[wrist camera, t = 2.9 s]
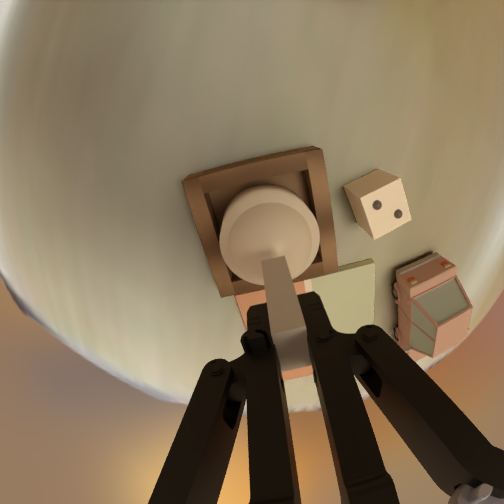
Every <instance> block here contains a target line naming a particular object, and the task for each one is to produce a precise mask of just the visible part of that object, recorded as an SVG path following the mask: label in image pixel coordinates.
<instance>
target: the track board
mask: <svg viewBox="0 0 504 504" xmlns="http://www.w3.org/2000/svg"><path fill="white" fill-rule="evenodd" d="M293 284H294V287H295V291H296V294H297V295H299V294H303V293H307V292H311V291H314V292H315V293H317V294H318V295H319V296H320V298H321V301H322V303H323V305H324V308H325V310H326V313H327V315H328V318H329V320H330V323H331V325H332V327H333V328H334V329H335V330H336V331H338V332H340V333H347V334H350V333H356V331H357V330H358V329H359V328H360V327H362V326H365V325H373V315H374V292H375V262H374V261H373V260H372V259H368V260H364V261H360V262H356V263H352V264H348V265H344V266H340V267H338V271H337V272H333V273H329V274H325V275H320V276H316V277H312V278H308V279H304V280H299V281H295V282H293ZM235 297H236V300H237V303H238V306H239V309H240V312H241V315H242V318H243V321H244V323H245V326H246V329H247V311H248V309H249V307H250V306H252V305H257V304H262V303H266V302H267V301H266V293H265V288H264V289H260V290H255V291H250V292H246V293H241V294H236V295H235ZM312 374H313V369H312V365H310V366H306V367H302V368H297V369H293V370H288V371H283V372H282V377H283V381H284V380H289V379H294V378H299V377H303V376H308V375H312Z"/></svg>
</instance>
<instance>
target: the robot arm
mask: <svg viewBox="0 0 504 504" xmlns="http://www.w3.org/2000/svg"><path fill="white" fill-rule="evenodd" d="M261 264H262V272H263V279H264V286H265V293H266V301H267V302H266V303H262V304H257V305H252V306H250V307H249V309H248V311H247V331H246V332H245V333H244V334H243V335H242V336H241V340H240V341H241V344H242V346H243V349H244V352H245V353H244V354H243V355H242V356H240V357H239V358H237V359H235V360H233V361H230V362H228V361H227V360H225V359H214V360H212V361H210V362H208V363H207V364H206V365H205V367H204V368H203V370H202V372H201V375H200V377H199V380H198V382H197V385H196V387H195V390H194V392H193V394H192V397H191V399H190V402H189V404H188V407H187V409H186V412H185V414H184V417H183V419H182V421H181V424H180V426H179V429H178V431H177V434H176V436H175V439H174V441H173V443H172V446H171V449H170V451H169V453H168V456H167V458H166V461H165V463H164V466H163V468H162V471H161V473H160V475H159V478H158V480H157V483H156V485H155V488H154V490H153V493H152V495H151V498H150V500H149V503H148V504H217V501H218V498H219V495H220V491H221V488H222V484H223V481H224V478H225V475H226V471H227V468H228V464H229V460H230V457H231V453H232V450H233V446H234V443H235V439H236V436H237V432H238V428H239V425H240V421H241V417H242V413H243V410H244V406H245V402H246V399H247V425H248V450H249V474H250V502H249V504H301V498H300V490H299V483H298V476H297V469H296V461H295V454H294V448H293V441H292V434H291V427H290V420H289V414H288V407H287V400H286V394H285V387H284V381H283V377H282V372H283V371H288V370H293V369H297V368H302V367H306V366H310V365H312V369H313V376H314V383H316V387H317V392H318V396H319V400H320V404H321V408H322V412H323V417H324V421H325V426H326V429H327V434H328V439H329V443H330V448H331V452H332V457H333V462H334V466H335V471H336V476H337V481H338V486H339V491H340V496H341V504H400V503H399V500H398V496H397V492H396V489H395V485H394V482H393V479H392V478H391V476H390V475H389V474H388V473H387V471H386V470H385V467H384V464H383V460H382V457H381V454H380V451H379V447H378V445H377V441H376V438H375V435H374V432H373V429H372V426H371V423H370V420H369V417H368V414H367V411H366V409H365V406H364V403H363V400H362V397H361V394H360V391H359V389H358V386H357V383H356V380H355V378H354V375H355V377H356V378H357V379H358V381H359V382H360V383H361V384H362V386H363V387H364V388H365V390H366V391H367V392H368V394H369V395H370V396H371V398H372V399H373V400H374V402H375V403H376V404H377V406H378V407H379V408H380V410H381V411H382V412H383V414H384V415H385V416H386V418H387V419H388V420H389V422H390V423H391V424H392V426H393V427H394V428H395V429H396V431H397V432H398V434H399V435H400V436H401V438H402V439H403V440H404V442H405V443H406V444H407V446H408V447H409V448H410V450H411V451H412V453H413V454H414V455H415V457H416V458H417V459H418V461H419V462H420V463H421V465H422V466H423V467H424V469H425V470H426V471H427V473H428V474H429V475H430V477H431V478H432V479H433V481H434V482H435V483H436V484H437V486H438V487H439V488H440V489H442V490H443V491H444V492H445V493H446V494H448V495H449V496H451V498H450V499H449V502H448V504H504V451H503V450H501V449H499V448H497V447H494V446H492V445H491V444H490V442H489V441H488V440H487V439H486V438H485V437H484V436H483V434H482V433H481V432H480V431H479V430H478V429H477V428H476V427H475V425H474V424H473V423H472V422H471V421H470V420H469V419H468V418H467V416H466V415H465V414H464V413H463V412H462V411H461V410H460V409H459V408H458V407H457V406H456V404H455V403H454V402H453V401H452V400H451V399H450V398H449V397H448V396H447V395H446V394H445V393H444V392H443V391H442V389H441V388H440V387H439V386H438V385H437V384H436V383H435V382H434V381H433V380H432V379H431V378H430V377H429V376H428V375H427V374H426V373H425V372H424V371H423V370H422V369H421V368H420V367H419V365H418V364H417V363H416V362H415V361H414V360H413V359H412V358H411V357H410V356H409V355H408V354H407V353H406V352H405V351H404V350H403V349H402V348H401V347H400V346H399V345H398V344H397V343H396V342H395V341H394V340H393V339H392V338H391V337H390V336H389V335H388V334H387V333H386V332H385V331H384V330H383V329H382V328H380V327H379V326H376V325H365V326H362V327H360V328H359V329H358V330H357V331H356V333H350V334H347V333H340V332H338V331H336V330H335V329H334V328H333V327H332V325H331V323H330V320H329V318H328V315H327V313H326V310H325V308H324V305H323V303H322V301H321V298H320V296H319V295H318V294H317V293H315V292H314V291H311V292H307V293H303V294H299V295H297V294H296V291H295V287H294V284H293V281H292V278H291V274H290V271H289V268H288V265H287V261H286V258H285V255H284V256H280V257H275V258H271V259H267V260H262V261H261Z"/></svg>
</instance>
